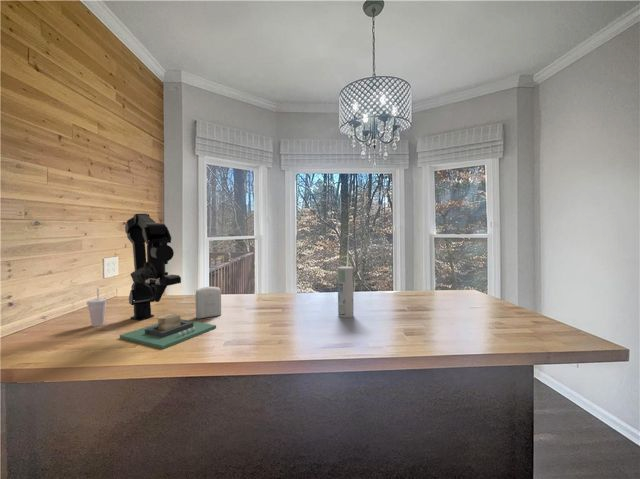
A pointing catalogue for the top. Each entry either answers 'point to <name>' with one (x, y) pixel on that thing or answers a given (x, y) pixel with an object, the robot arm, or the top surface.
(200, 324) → the socket board
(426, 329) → the top surface
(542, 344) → the top surface
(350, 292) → the spray can
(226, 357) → the top surface
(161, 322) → the plug
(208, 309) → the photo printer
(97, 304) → the smoothie
